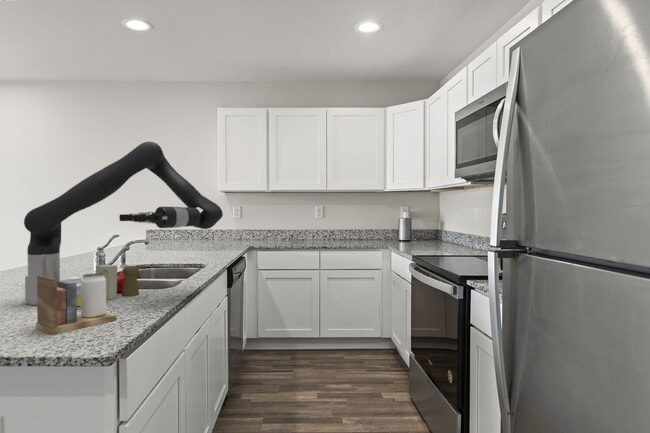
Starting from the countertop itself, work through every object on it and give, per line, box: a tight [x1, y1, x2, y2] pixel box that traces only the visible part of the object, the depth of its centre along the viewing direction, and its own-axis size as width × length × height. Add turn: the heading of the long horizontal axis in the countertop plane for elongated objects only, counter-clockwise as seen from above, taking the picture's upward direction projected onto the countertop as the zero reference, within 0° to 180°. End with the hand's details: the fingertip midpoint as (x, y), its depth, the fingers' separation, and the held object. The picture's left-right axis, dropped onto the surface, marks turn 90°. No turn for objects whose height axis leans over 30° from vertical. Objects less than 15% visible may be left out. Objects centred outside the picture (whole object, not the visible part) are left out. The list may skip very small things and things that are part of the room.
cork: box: [121, 265, 140, 297], centre depth 155 cm, size 6×6×11 cm
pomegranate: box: [117, 271, 124, 294], centre depth 160 cm, size 10×10×9 cm
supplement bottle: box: [66, 276, 82, 310], centre depth 134 cm, size 6×6×10 cm
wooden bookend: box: [35, 275, 117, 336], centre depth 116 cm, size 17×10×14 cm, turn 144°
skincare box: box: [95, 264, 118, 301], centre depth 148 cm, size 6×4×12 cm
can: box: [80, 272, 107, 318], centre depth 120 cm, size 6×6×12 cm
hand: (126, 218), depth 130 cm, fingers open, 8 cm apart
